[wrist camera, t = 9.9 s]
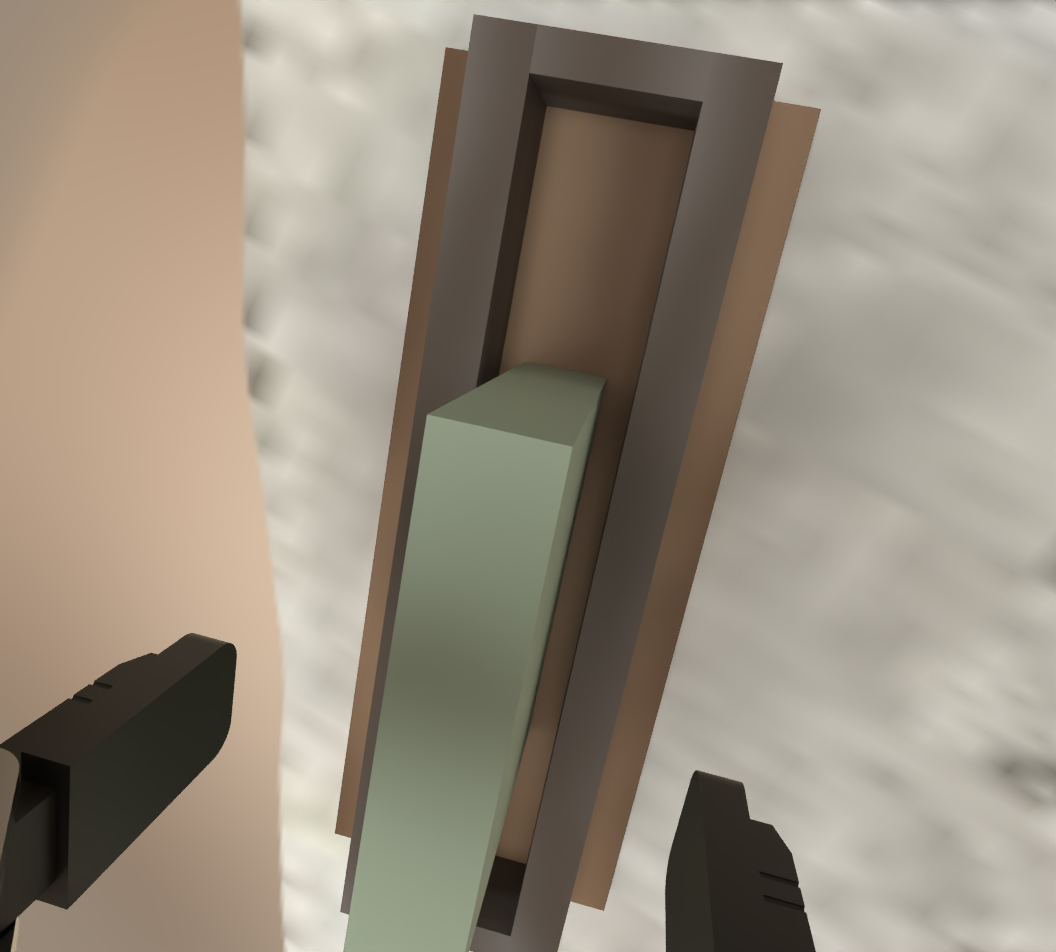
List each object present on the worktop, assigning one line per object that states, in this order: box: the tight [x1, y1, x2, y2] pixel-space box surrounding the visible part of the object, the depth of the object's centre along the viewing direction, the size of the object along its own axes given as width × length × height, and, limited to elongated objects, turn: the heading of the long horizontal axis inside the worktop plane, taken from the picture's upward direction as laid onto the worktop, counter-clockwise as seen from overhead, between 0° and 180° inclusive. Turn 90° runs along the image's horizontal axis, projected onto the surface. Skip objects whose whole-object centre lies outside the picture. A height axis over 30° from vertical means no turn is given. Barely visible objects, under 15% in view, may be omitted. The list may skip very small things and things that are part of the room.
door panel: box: [344, 361, 607, 952], centre depth 18 cm, size 2×12×10 cm, turn 169°
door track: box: [335, 14, 821, 952], centre depth 22 cm, size 10×26×4 cm, turn 169°
